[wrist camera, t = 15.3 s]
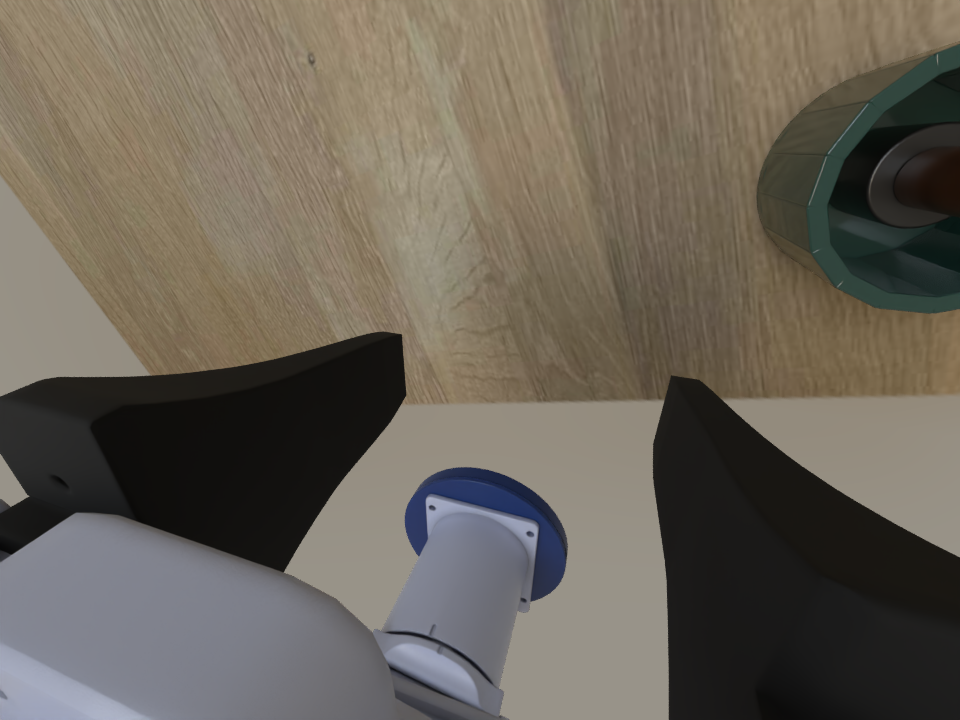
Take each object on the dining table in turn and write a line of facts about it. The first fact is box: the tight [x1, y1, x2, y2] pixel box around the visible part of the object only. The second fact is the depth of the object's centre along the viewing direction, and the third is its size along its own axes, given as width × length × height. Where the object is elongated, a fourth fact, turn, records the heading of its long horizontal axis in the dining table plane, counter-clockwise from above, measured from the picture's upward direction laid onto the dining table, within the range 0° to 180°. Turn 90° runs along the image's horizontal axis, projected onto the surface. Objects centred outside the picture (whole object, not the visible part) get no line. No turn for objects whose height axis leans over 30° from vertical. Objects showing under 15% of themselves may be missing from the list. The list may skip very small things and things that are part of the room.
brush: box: [829, 121, 960, 229], centre depth 11 cm, size 3×3×7 cm
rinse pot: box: [757, 41, 960, 314], centre depth 13 cm, size 7×7×6 cm
